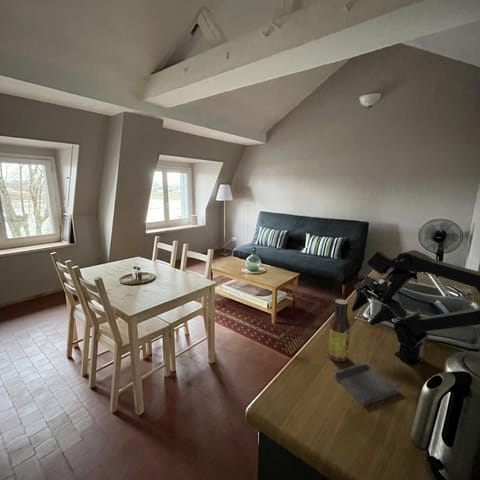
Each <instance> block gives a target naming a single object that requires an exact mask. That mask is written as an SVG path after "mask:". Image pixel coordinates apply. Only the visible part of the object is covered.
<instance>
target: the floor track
mask: <svg viewBox="0 0 480 480" xmlns="http://www.w3.org/2000/svg"><path fill="white" fill-rule="evenodd" d="M333 377H334V378H335V379H336V381H337V382H339V383H340V385H342V386H343V387H344V388H345V389H346V390H347V391H348V393H350V395H352V396H353V397H354V398H355V399H356V400H357V401H358V402H359V403H360V404H361V405H362V406H363V407H366V406H369V405H371V404H374V403H376V402H379V401H381V400H385V399H387V398H390V397H393V396H394V395H398V394H401V390H402V389H401V388H402V386H400V385H398V384H397V385H395V386H394V385H393V384H392V383H390V382H389V381H388V380H387V379H385V378H384V377H382V375H380V374H379V373H378V372H376V371H375V370H374V369H373V368H372V367H370V362H369V361H365V362H360V363H358V364H354V365H352V366H348V367H345V368H341V369H338V370H334V372H333Z"/></svg>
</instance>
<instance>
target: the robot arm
mask: <svg viewBox="0 0 480 480" xmlns="http://www.w3.org/2000/svg"><path fill="white" fill-rule="evenodd" d="M366 266H367V267H368V268H370V269H371V270H372V271H374V272H375V273H377V274H378V275H379V276H385V277H380V278H379V279H376V278H373V277H371V276H370V275H365V277H364V279H363V282H362V281H358V282H356V283H355V284H354V288H355V291H356V297H355V299H354V302H353V305H352V307H351V311H352V312H354V313H355V312H356V311H357V310H359V309H361V308H362V307H363V306H365V305H366V304H368V303H369V302H370V299H373V300H375V301H377V302H379V303H380V304H381V306H380V310H379V311H377V313H376V314H375V316H374V317H372V319H370V321H369V324H370V326H375V325H377V324H381V323H384V322H387V321H390V320H394V319H395V320H397V321H395V322H394V324H393V329H394V330H393V331H395V334H396V337H397V340H398V343H400V344H399V348H398V349H399V350H398V351H396V352H394V355H395V356H397V357H398V358H400V359H401V360H403V361H404V362H405V363H407V364H409V365H410V366H415V365H419V364H421V363H425V362H426V359H425V358H424V357H422V354H423V353H422V352H423V345H424V342H425V341H427V339H428V337H429V335H428V333H427V332H431V331H432V332H433V331H439V330H440V331H441V330H448V329H457V328H462V327H463V328H465V327H471V326H472V327H473V326H480V307H476V308H471V309H465V310H460V311H452V312H447V313H440V314H435V315H429V316H423V315H420V311H416V312H413V313H408V312H407V311H408V310H407V309H406V308H405V307H404V306H403V305H402V304H401V303H400V302H399V301H397V300H395V299H394V297H396V296H397V295H398V296H401V294H402V292H401V290H403V288H404V287H405V286H406V285H407V284H408V283H409V282H410V280H411V281H412V282H414V283H415V284H418V283H419V279H418V273H423V274H424V273H425V274H431V275H433V276H435V277H436V276H437V277H440V278H443V279H446V280H450V281H454V282H456V283H460V284H463V285H466V286H470V287H473V288H475V289H476V290H477V292H478V293H479V294H480V271H478V270H475V269H470V268H466V267H462V266H459V265H456V264H452V263H448V262H444V261H440V260H438V259H434V258H432V257H430V256H429V255H427V254H425V253H423V252H421V251H418V250H415V249H410V250H407V251H404V252H401V253H399V254H398V255H397V256H396V257H394V258H391V257H389V256H387V255H386V254H385V253H383V252H382V251H380V250H378V251H376V252H375V254H374V255H373V256H371V257H370V259H368V261H367V262H366Z"/></svg>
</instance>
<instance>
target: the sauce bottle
mask: <svg viewBox="0 0 480 480" xmlns="http://www.w3.org/2000/svg"><path fill="white" fill-rule="evenodd" d="M348 308H349V302H348V300H345V299H341V298H340V299H335V300H334V314H333V315H332V316H331V318H330V327H329V337H328V356H329V358H330V359H331V360H333V362H334V361H335V362H337V363H338V362H339V363H343V362H345V361H347V359H348V356H349V349H350V347H349V346H350V336H351V323H350V320H349V317H348Z"/></svg>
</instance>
